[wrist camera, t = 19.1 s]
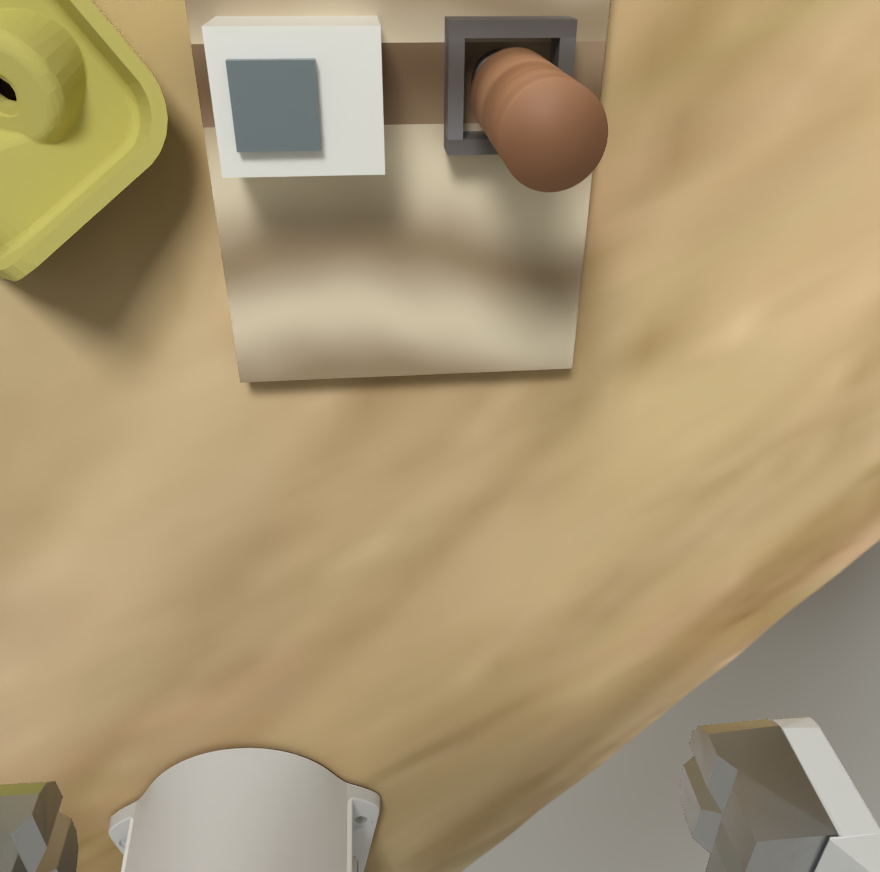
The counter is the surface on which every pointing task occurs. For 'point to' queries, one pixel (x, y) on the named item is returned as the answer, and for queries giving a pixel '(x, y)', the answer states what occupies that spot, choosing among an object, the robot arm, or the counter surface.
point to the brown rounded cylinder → (538, 118)
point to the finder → (296, 95)
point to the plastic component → (67, 124)
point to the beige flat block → (410, 211)
